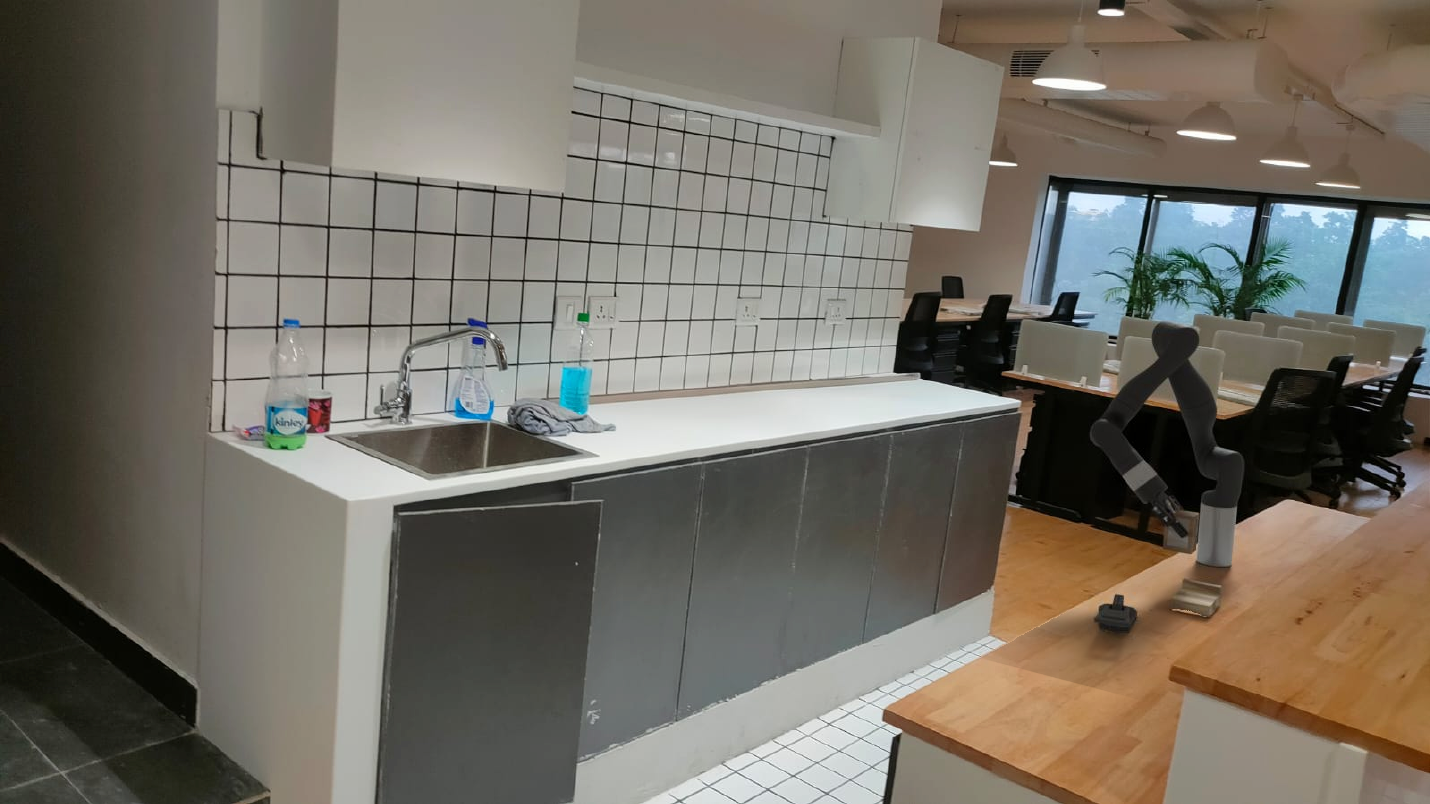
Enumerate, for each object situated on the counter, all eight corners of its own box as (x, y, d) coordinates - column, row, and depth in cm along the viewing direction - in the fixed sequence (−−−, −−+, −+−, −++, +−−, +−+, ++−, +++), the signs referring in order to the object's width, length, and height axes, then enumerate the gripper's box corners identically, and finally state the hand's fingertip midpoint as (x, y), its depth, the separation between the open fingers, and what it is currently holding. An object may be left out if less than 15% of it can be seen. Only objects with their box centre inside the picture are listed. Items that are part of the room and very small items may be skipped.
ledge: (1182, 597, 278) (1184, 578, 277) (1220, 604, 273) (1221, 585, 272) (1170, 610, 269) (1171, 591, 268) (1208, 618, 263) (1210, 598, 263)
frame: (1168, 544, 285) (1171, 508, 283) (1196, 549, 281) (1199, 513, 279) (1162, 549, 281) (1165, 512, 279) (1190, 554, 277) (1194, 517, 275)
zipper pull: (1091, 618, 245) (1101, 584, 268) (1089, 645, 247) (1099, 610, 269) (1132, 624, 242) (1139, 590, 264) (1130, 651, 243) (1137, 615, 265)
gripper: (1147, 478, 277) (1192, 532, 271) (1163, 468, 288) (1207, 519, 283) (1125, 495, 281) (1169, 548, 276) (1141, 484, 292) (1184, 535, 287)
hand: (1188, 533), depth 279 cm, fingers closed on frame, 5 cm apart
